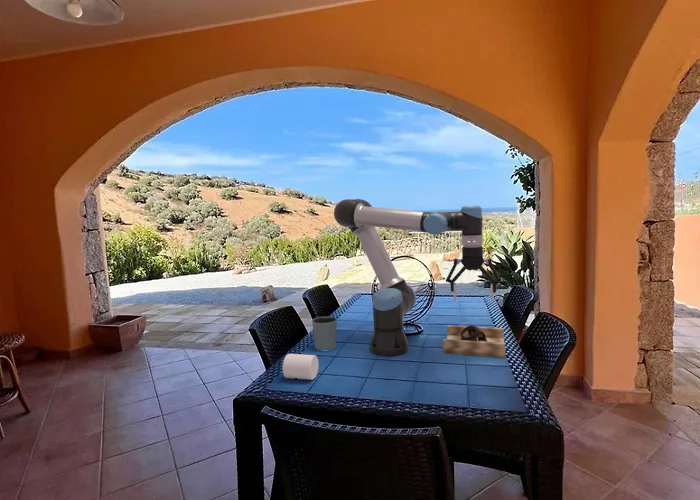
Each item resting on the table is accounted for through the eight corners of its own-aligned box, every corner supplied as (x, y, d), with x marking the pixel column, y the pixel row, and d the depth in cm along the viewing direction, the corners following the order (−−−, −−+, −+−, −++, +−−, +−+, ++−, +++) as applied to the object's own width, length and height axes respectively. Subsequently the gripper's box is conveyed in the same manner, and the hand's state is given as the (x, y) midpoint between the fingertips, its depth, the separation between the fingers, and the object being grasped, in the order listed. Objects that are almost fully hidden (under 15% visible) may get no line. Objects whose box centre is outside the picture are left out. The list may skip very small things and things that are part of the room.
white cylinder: (310, 384, 124) (309, 360, 123) (283, 381, 127) (281, 359, 126) (323, 368, 136) (321, 347, 135) (297, 367, 138) (296, 346, 138)
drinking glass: (308, 348, 156) (306, 320, 155) (326, 341, 164) (324, 314, 162) (325, 354, 149) (323, 324, 148) (343, 346, 157) (341, 318, 156)
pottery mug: (492, 348, 143) (483, 332, 141) (469, 358, 146) (459, 342, 143) (484, 331, 155) (475, 315, 152) (462, 340, 157) (453, 325, 155)
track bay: (443, 353, 144) (442, 340, 143) (448, 336, 162) (447, 325, 161) (505, 357, 136) (505, 344, 136) (503, 340, 154) (503, 328, 153)
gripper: (437, 247, 146) (439, 301, 148) (507, 246, 137) (508, 303, 139) (440, 245, 153) (441, 297, 155) (507, 244, 144) (507, 299, 146)
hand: (473, 300), depth 147 cm, fingers open, 13 cm apart
